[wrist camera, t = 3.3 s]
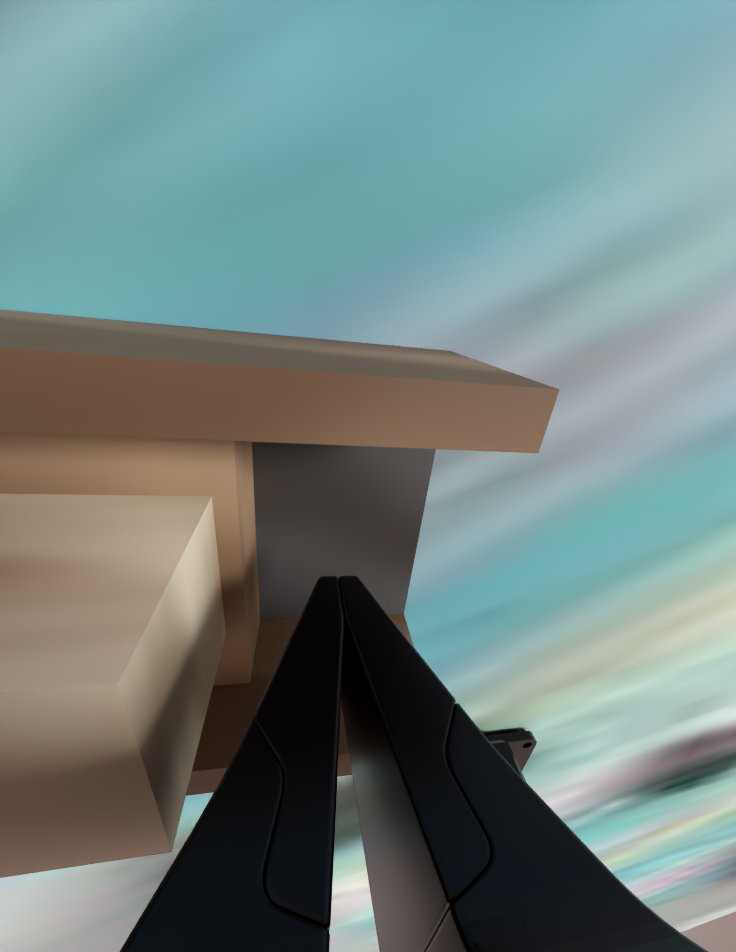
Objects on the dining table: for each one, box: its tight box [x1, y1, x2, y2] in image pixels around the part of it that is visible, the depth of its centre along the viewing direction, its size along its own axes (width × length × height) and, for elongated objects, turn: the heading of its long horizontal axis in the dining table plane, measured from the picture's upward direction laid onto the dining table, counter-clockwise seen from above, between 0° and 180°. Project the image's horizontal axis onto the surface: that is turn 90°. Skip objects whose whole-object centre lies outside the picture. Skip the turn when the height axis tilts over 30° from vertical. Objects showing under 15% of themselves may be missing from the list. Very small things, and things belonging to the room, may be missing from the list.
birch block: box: [0, 494, 226, 878], centre depth 6 cm, size 4×4×4 cm
